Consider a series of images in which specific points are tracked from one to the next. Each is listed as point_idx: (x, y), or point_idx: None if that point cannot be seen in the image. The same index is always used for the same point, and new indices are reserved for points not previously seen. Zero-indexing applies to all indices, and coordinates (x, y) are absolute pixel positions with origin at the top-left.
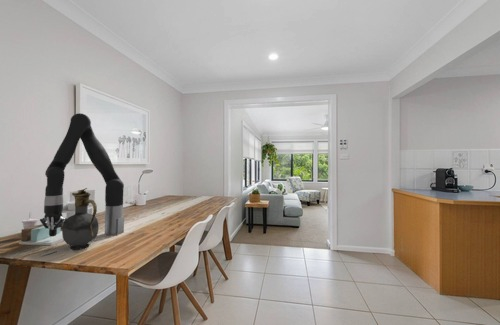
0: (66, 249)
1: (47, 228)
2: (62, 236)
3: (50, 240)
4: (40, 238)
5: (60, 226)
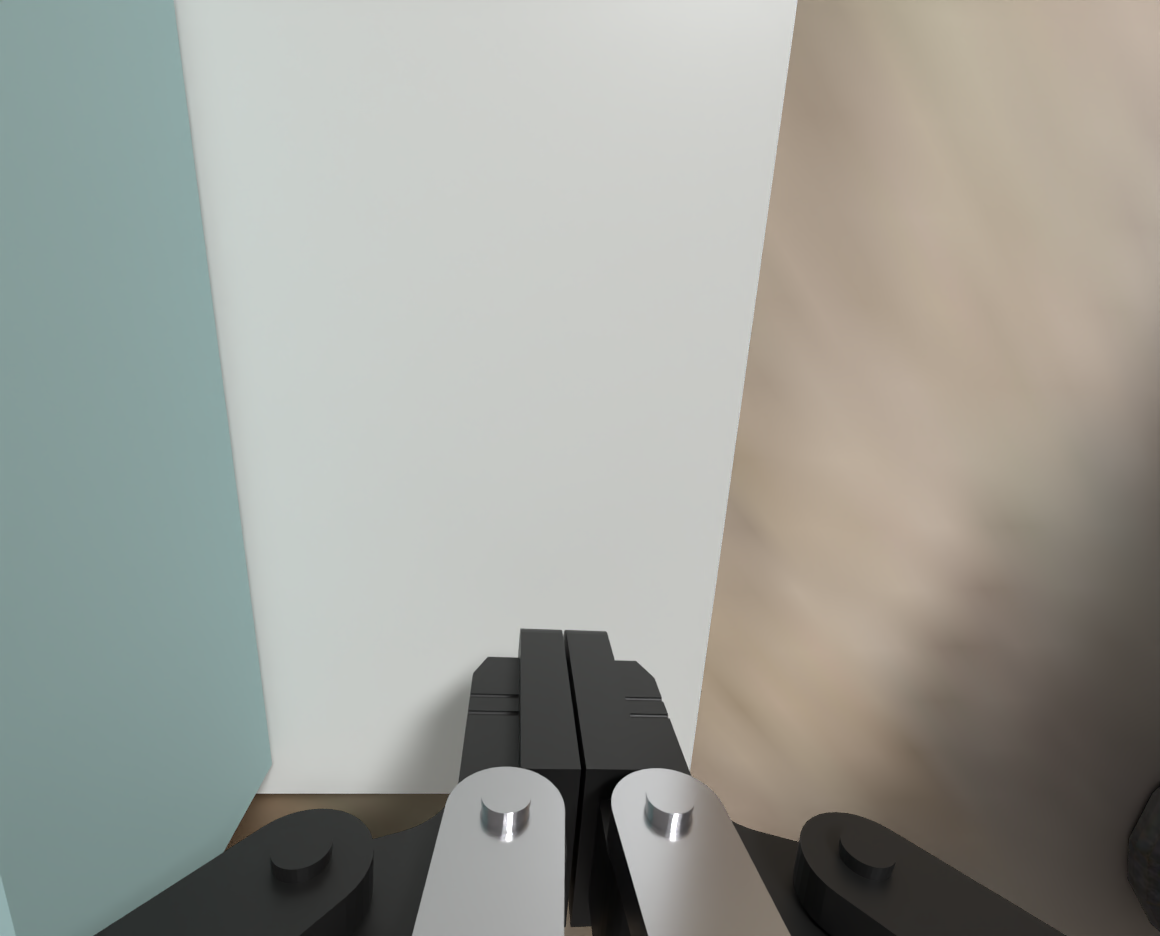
0: (1081, 921)
1: (36, 579)
2: (580, 339)
3: None
4: (245, 692)
5: (917, 885)
